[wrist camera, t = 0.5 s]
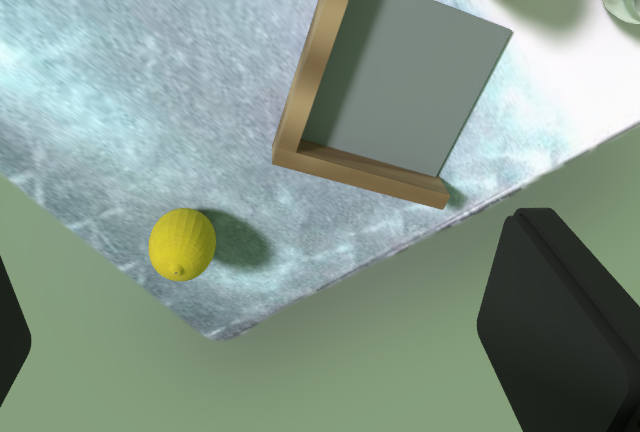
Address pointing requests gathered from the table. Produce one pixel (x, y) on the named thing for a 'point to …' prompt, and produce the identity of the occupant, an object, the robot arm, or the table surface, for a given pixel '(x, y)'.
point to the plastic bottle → (624, 9)
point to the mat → (402, 81)
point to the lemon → (182, 244)
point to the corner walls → (327, 159)
